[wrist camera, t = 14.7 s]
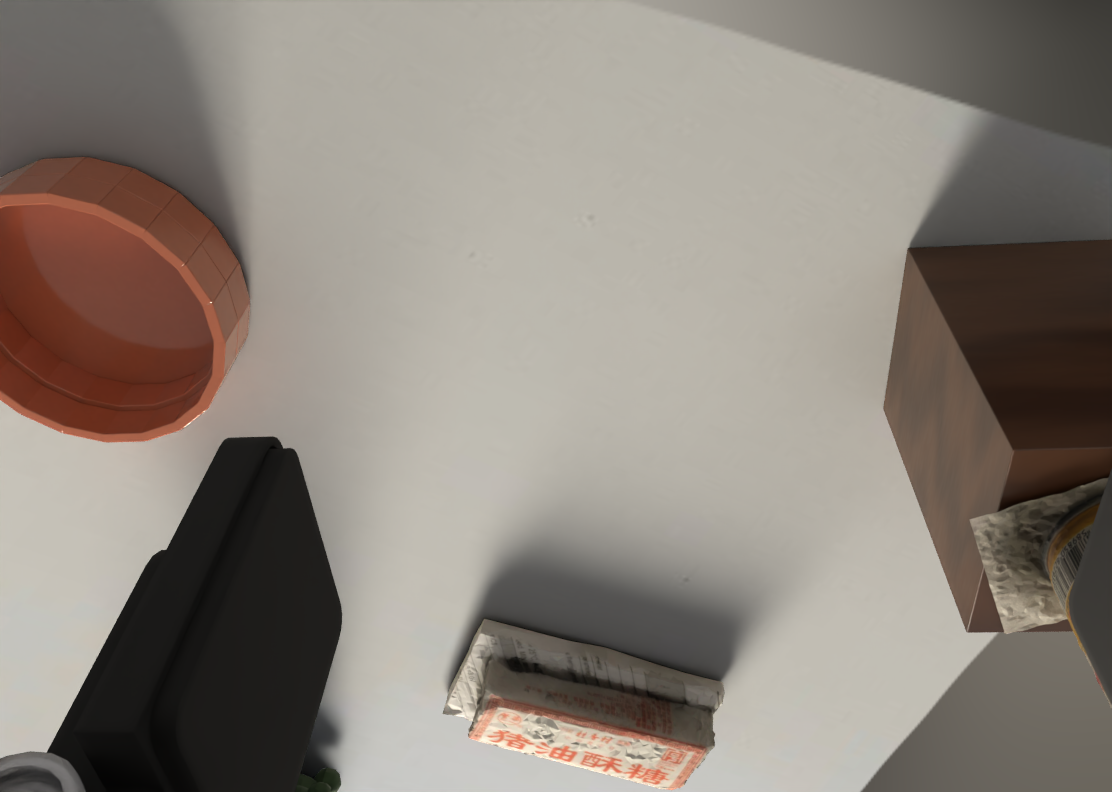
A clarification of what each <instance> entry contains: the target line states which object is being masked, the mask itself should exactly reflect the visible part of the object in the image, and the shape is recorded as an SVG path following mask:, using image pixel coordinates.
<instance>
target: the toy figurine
mask: <svg viewBox="0 0 1112 792" xmlns="http://www.w3.org/2000/svg"><path fill="white" fill-rule="evenodd" d="M340 786H341V779H340V774H339V773H338V772H337V771H336V770H334V769H331V768H324V769H321V770H320V771H319V773H318V774H317V775H316V776H315V778H314V779H313V778H311V777H308V776H306V775H304V774H300V776H299V779H298V783H297V786H296V790H295V792H337V791H338V789H339V787H340Z"/></svg>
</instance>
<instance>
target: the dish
mask: <svg viewBox="0 0 1112 792" xmlns="http://www.w3.org/2000/svg"><path fill="white" fill-rule="evenodd" d="M249 312H250V297H249V294H248V290H247V287H246V284H245V280H244V277H243V273H242V270H241V266H240V263H239V261H238V260H237V258H236V257H235V255H234V253H233V252H232V250H231V249H230V247H229V246H228V244H227V243H226V241H225V240H224V238H223V237H222V235H221V234H220V232H219V231H218V229H217V228H216V226H215V225H214V223H212V222H211V221H210V220H209V219H208V218H207V217H206V216H205V215H204V214H202V213H201V212H200V211H199V210H198V209H197V208H196V207H195V206H194V205H192V204H191V203H190V202H189V201H188V200H187V199H186V198H185V197H184V196H182V195H181V194H180V193H179V192H178V191H176V190H174V189H172V188H171V187H169V186H167V185H165V184H163V183H161V182H159V181H157V180H156V179H154V178H152V177H150V176H148V175H146V174H144V173H142V172H141V171H139V170H137V169H135V168H134V169H133V168H132V167H127V166H123V165H119V164H115V163H111V162H107V161H103V160H99V159H94V158H90V157H72V158H52V159H42V160H38V161H35V162H33V163H31V164H28V165H26V166H24V167H22V168H19V169H17V170H15V171H12V172H10V173H8V174H6V175H4V176H3V177H1V178H0V400H1V401H2V402H4V403H5V404H7V405H8V406H9V407H11V408H12V409H14V410H15V411H16V412H18V413H19V414H20V413H21V415H23V416H25V417H27V418H30V419H32V420H34V421H36V422H39V423H41V424H43V425H45V426H48V427H50V428H52V429H54V430H57V431H59V432H61V433H62V432H63V433H64V434H69V435H73V436H78V437H83V438H87V439H92V440H97V441H102V442H140V441H148V440H151V439H154V438H158V437H161V436H164V435H167V434H170V433H173V432H176V431H179V430H181V429H183V428H184V427H186V426H187V425H188V424H189V423H191V422H192V421H193V420H194V419H196V418H197V417H198V416H199V415H201V414H202V413H203V412H204V411H206V410H207V409H208V408H209V406H210V405H211V403H212V401H213V399H214V397H215V396H216V394H217V392H218V390H219V388H220V387H221V385H222V383H223V381H224V379H225V378H226V376H227V374H228V372H229V371H230V369H231V367H232V365H233V363H234V361H235V360H236V358H237V356H238V354H239V352H240V350H241V348H242V346H243V344H244V342H245V340H246V338H247V335H248V325H249Z"/></svg>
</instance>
